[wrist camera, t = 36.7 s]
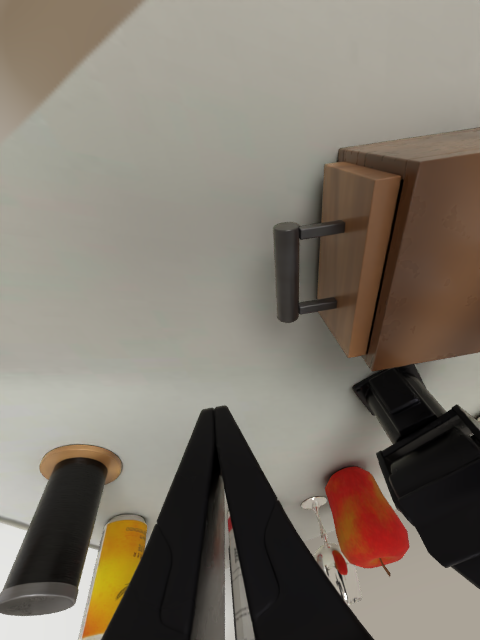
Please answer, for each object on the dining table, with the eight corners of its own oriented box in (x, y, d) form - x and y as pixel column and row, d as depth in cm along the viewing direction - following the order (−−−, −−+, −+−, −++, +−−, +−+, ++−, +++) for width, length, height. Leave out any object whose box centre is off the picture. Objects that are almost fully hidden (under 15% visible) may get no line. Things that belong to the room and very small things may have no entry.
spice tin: (97, 452, 30) (55, 590, 21) (116, 478, 34) (86, 606, 25) (42, 461, 30) (-24, 605, 21) (66, 486, 33) (19, 619, 24)
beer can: (146, 529, 44) (127, 683, 32) (104, 531, 43) (68, 693, 30) (149, 512, 41) (130, 676, 29) (105, 513, 39) (64, 687, 27)
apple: (342, 454, 38) (391, 563, 29) (384, 462, 41) (440, 564, 32) (306, 484, 42) (338, 589, 33) (346, 490, 45) (386, 588, 36)
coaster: (137, 462, 33) (136, 467, 33) (91, 489, 35) (89, 495, 35) (73, 434, 29) (71, 440, 28) (25, 467, 31) (22, 473, 31)
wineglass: (335, 493, 46) (373, 593, 36) (323, 509, 49) (355, 605, 39) (302, 495, 44) (332, 599, 35) (292, 511, 48) (317, 611, 38)
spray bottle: (221, 506, 43) (243, 849, 23) (267, 493, 42) (333, 832, 22) (236, 523, 47) (266, 821, 27) (278, 512, 47) (340, 807, 27)
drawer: (268, 317, 22) (288, 369, 18) (259, 173, 16) (284, 193, 12) (464, 284, 23) (533, 325, 18) (524, 134, 17) (651, 137, 12)
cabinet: (325, 307, 24) (371, 372, 17) (338, 148, 17) (420, 161, 11) (478, 281, 24) (576, 335, 18) (550, 117, 17) (745, 112, 11)
